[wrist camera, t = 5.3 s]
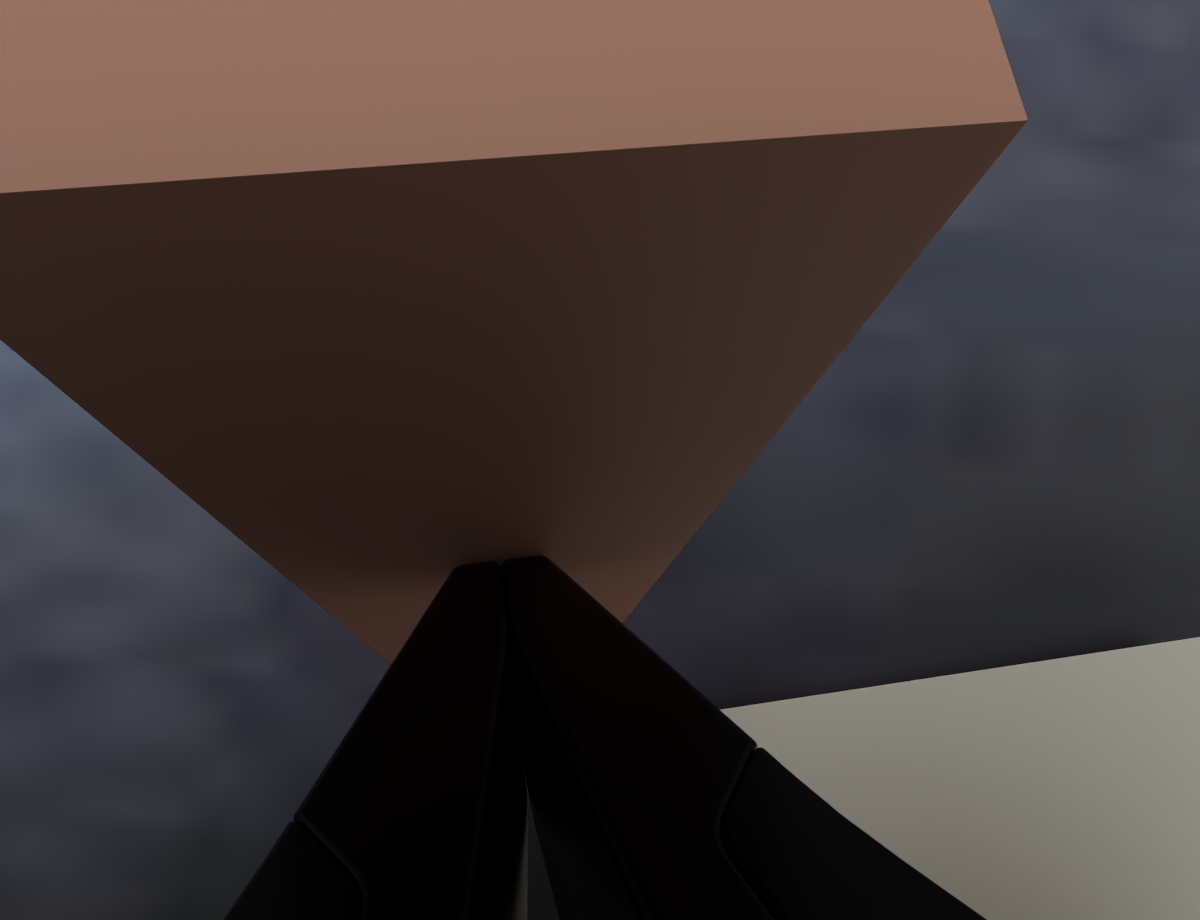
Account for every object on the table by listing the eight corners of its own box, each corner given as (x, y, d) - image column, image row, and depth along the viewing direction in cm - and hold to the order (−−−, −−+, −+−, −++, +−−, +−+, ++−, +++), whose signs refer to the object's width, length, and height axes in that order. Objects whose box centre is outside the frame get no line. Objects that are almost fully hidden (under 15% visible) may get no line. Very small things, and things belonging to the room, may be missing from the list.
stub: (603, 649, 17) (1045, 117, 3) (403, 677, 17) (-186, 205, 3) (559, 349, 19) (707, -882, 5) (377, 367, 19) (-60, -941, 4)
